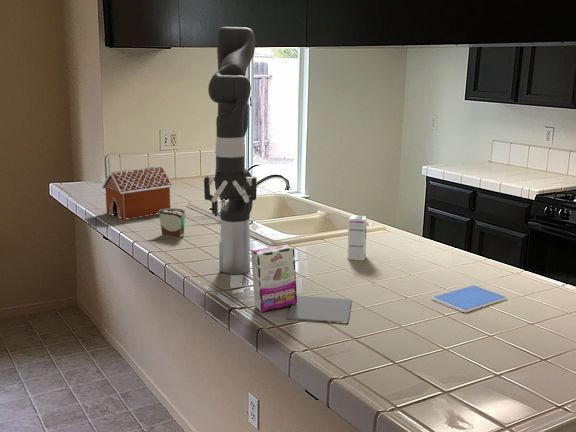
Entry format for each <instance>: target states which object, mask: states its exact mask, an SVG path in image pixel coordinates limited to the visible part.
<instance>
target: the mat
mask: <svg viewBox="0 0 576 432" xmlns="http://www.w3.org/2000/svg"><path fill="white" fill-rule="evenodd" d="M351 305H352V299H350V298H349V299H347V298H337V297H335V298H331V297H321V296H319V297H318V296H306V295H304V296H303V295H297V304H294V305H290V309H289V311H288V314H287V316H286V320H291V321H305V322H316V321H331V322H348V323H349V320H348V319H349V318H350V313H349V312H351V307H350V306H351Z"/></svg>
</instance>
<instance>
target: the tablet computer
mask: <svg viewBox="0 0 576 432" xmlns="http://www.w3.org/2000/svg"><path fill="white" fill-rule="evenodd" d="M431 300H432V301H433V302H435V301H436V302H435V303H438V304H440V303H441V304H440V305H442V304H443V306H445V307H447V306H448V308H450V307H451V308H450V309H452V308H453V310H455V309H456V310H455V311H457V310H459V311H458V312H460V311H461V312H460V313H463V312H464V314H465V313H469V312H472V311H475V310H477V309H478V310H479V309H481V307H482V308H484V307H487V306H490V305H493V304H498V303H501V302H504V301H507V300H508V297H506V296H504V295H501V294H500V293H496V292H493V291H491V290H488V289H486V288H483V287H481V286H477V285H470V286H466V287H463V288H459V289H455V290H452V291H449V292H446V293H442V294H438V295H435V296H432V297H431ZM497 302H498V303H497Z"/></svg>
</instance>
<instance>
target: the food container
mask: <svg viewBox="0 0 576 432" xmlns="http://www.w3.org/2000/svg"><path fill="white" fill-rule="evenodd" d="M157 215H159V223H160V230H161V236H164V235H165V236H164V237H168V236H169V238H174V239H179V240H181V239H183V238H184V236H185V224H186V223H185V220H186V218H188V217H187V212H186V210H184V209H183V208H175V207H170V208H166V209H160V210H159V213H158V214H157Z"/></svg>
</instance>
